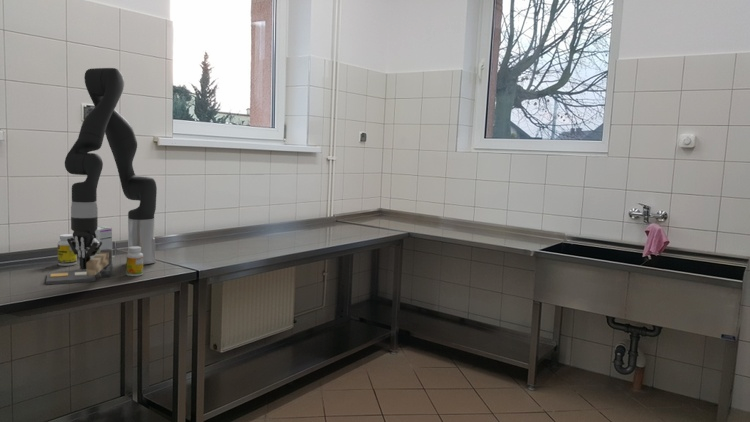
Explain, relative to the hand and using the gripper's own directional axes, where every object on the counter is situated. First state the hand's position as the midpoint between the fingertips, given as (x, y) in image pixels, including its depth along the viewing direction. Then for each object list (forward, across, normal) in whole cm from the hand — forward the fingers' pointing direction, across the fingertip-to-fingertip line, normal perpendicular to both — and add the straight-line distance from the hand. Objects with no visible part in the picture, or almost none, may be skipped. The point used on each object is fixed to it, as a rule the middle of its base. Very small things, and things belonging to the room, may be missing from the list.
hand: (84, 268), depth 176 cm
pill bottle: (+6, +28, -17) cm, 33 cm away
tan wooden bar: (+1, -2, -4) cm, 4 cm away
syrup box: (+6, +16, -21) cm, 27 cm away
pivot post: (+5, +3, -11) cm, 13 cm away
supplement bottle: (+5, -4, -17) cm, 18 cm away
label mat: (+5, +10, -3) cm, 11 cm away
